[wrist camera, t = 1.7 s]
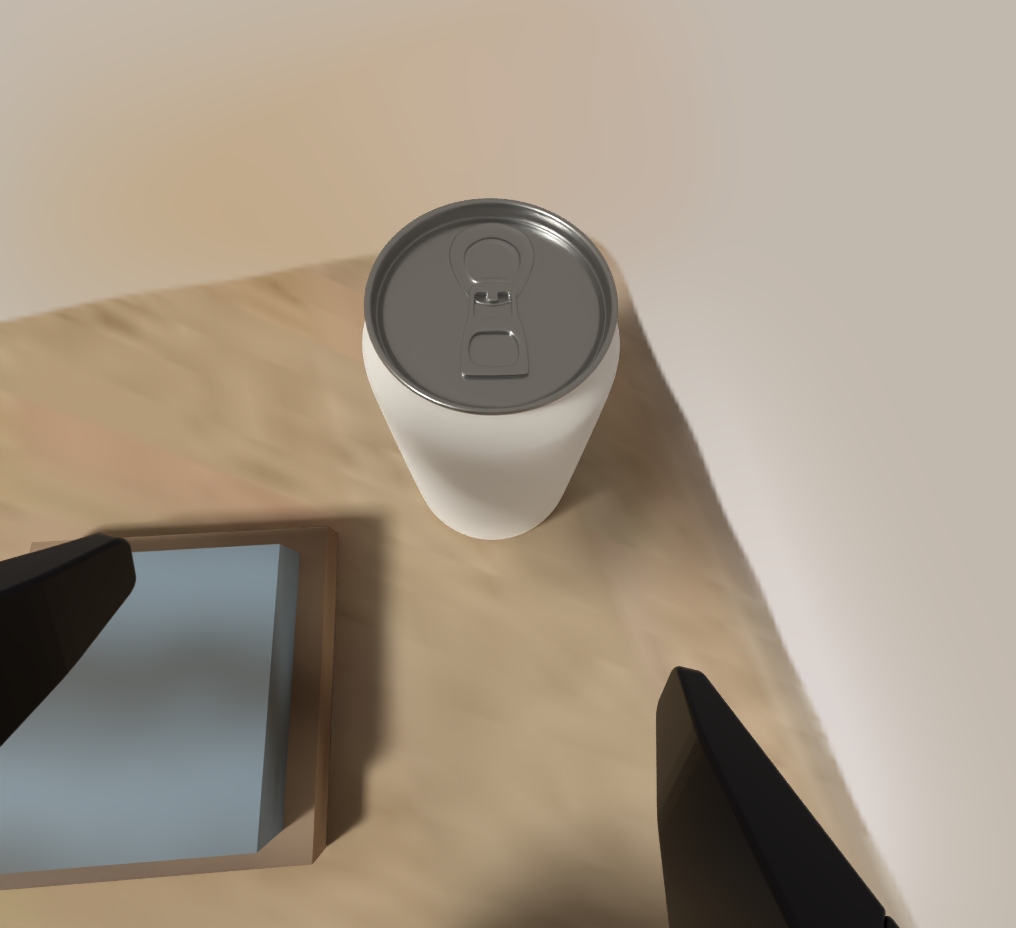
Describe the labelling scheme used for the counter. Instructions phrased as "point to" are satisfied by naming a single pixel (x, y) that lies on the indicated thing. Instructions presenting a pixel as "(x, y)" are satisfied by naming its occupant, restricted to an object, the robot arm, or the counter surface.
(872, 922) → the robot arm
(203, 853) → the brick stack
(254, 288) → the counter surface
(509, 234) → the can
